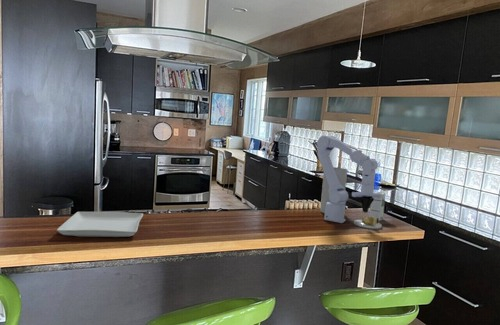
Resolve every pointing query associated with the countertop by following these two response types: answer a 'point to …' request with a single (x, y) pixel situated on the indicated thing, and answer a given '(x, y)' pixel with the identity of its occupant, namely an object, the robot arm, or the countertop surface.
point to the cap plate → (367, 225)
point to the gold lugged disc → (369, 220)
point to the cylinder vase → (341, 177)
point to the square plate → (101, 224)
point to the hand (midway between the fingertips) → (365, 211)
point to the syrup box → (377, 206)
